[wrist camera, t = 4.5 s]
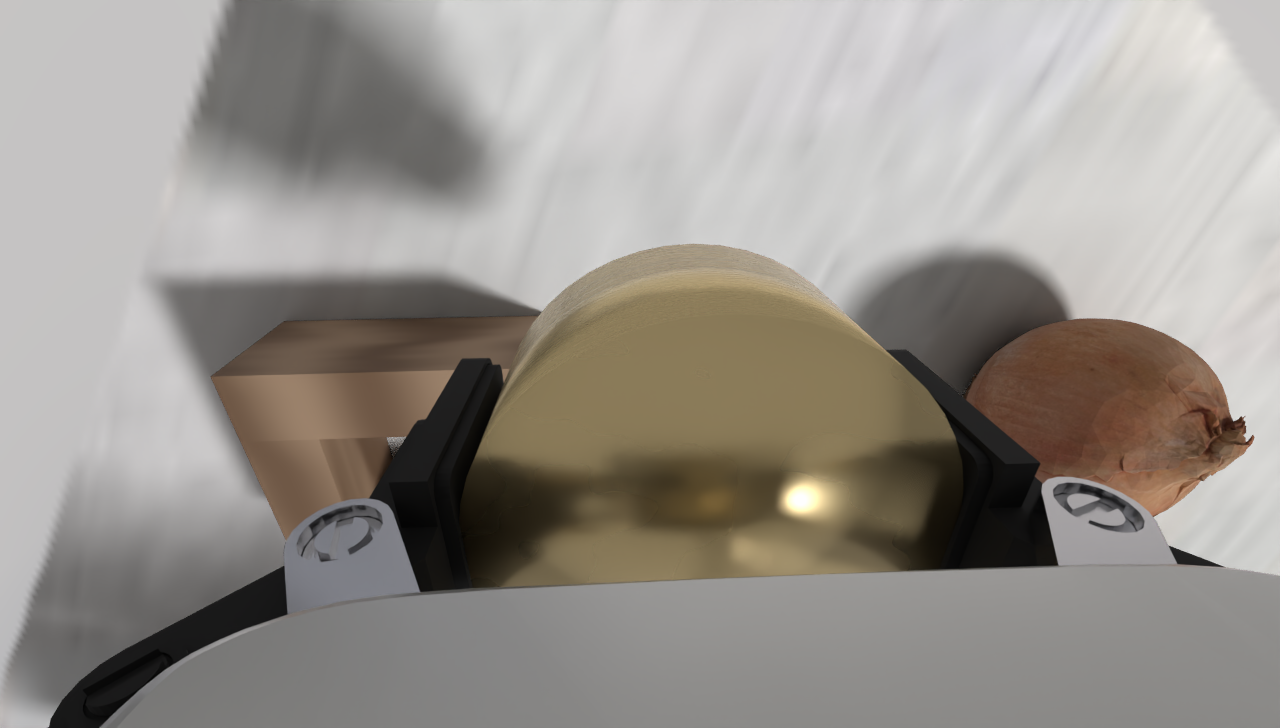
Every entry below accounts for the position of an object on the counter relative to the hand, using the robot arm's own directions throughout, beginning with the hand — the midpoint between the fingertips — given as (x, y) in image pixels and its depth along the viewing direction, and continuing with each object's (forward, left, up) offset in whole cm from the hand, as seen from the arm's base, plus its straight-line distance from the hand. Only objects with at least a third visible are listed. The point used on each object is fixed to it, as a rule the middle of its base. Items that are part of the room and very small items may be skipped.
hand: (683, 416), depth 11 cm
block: (+10, +9, -13) cm, 19 cm away
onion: (-20, +7, -13) cm, 25 cm away
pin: (0, 0, -4) cm, 4 cm away
